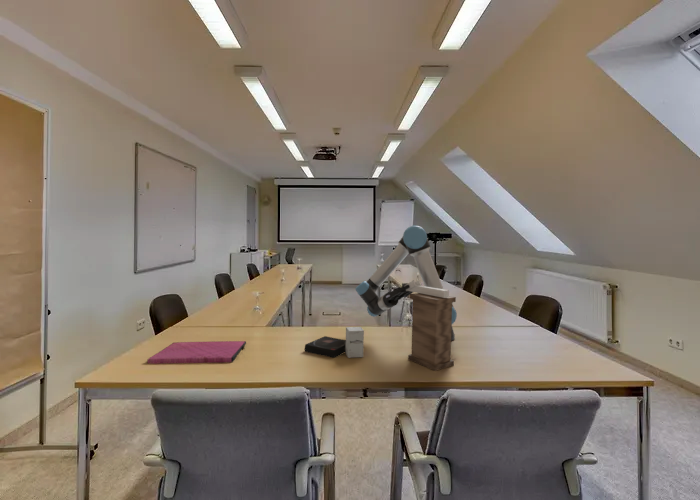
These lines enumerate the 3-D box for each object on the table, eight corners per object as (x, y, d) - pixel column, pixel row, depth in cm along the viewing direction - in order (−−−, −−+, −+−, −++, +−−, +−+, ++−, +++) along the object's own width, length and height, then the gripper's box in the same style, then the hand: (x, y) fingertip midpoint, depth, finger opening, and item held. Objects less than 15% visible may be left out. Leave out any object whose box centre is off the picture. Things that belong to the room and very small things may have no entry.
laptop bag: (146, 355, 150) (173, 338, 177) (146, 365, 150) (173, 346, 177) (242, 353, 153) (253, 337, 180) (242, 363, 153) (253, 344, 180)
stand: (426, 354, 167) (428, 292, 166) (453, 365, 154) (455, 297, 153) (408, 359, 160) (409, 294, 159) (434, 370, 147) (436, 299, 146)
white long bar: (406, 289, 172) (406, 283, 172) (448, 297, 150) (448, 290, 150) (401, 289, 170) (402, 283, 170) (444, 297, 148) (444, 290, 148)
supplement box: (347, 358, 161) (348, 330, 160) (345, 352, 168) (345, 326, 167) (363, 357, 162) (364, 330, 161) (360, 352, 169) (360, 326, 169)
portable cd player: (323, 343, 183) (323, 336, 183) (352, 349, 175) (352, 341, 174) (304, 352, 169) (304, 344, 169) (334, 359, 160) (334, 350, 160)
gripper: (402, 306, 184) (432, 289, 167) (378, 309, 175) (407, 291, 157) (397, 292, 187) (426, 274, 169) (373, 295, 178) (401, 276, 160)
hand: (417, 282), depth 163 cm, fingers closed on white long bar, 3 cm apart
